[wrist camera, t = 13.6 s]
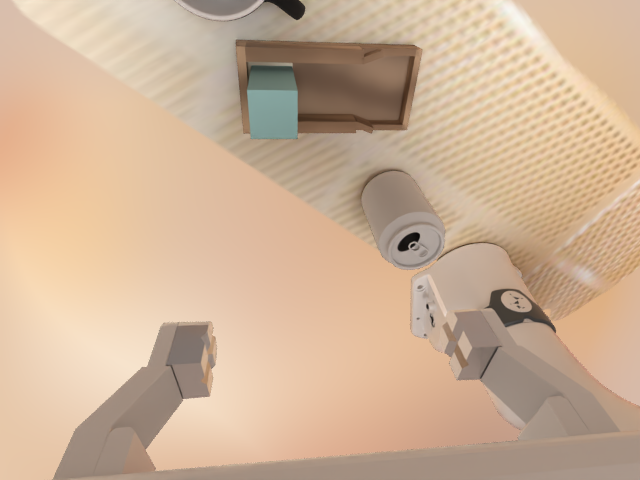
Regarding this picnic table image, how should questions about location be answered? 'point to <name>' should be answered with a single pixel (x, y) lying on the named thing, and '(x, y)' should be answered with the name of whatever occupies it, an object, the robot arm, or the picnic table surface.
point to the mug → (237, 8)
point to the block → (272, 102)
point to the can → (402, 221)
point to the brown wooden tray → (339, 82)
